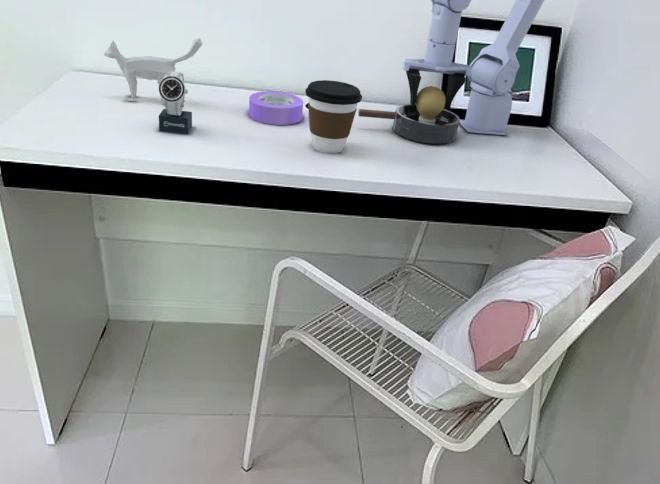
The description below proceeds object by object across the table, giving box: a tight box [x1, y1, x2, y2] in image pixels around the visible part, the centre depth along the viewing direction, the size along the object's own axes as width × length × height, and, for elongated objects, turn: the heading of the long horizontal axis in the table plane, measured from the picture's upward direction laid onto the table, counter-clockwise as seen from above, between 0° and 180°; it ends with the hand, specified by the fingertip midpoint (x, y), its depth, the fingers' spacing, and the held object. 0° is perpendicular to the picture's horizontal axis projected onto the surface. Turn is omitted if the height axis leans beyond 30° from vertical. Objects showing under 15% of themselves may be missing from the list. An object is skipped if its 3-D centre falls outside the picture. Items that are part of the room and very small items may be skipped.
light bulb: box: [416, 85, 446, 124], centre depth 139 cm, size 6×6×10 cm
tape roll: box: [248, 90, 304, 126], centre depth 139 cm, size 12×12×4 cm
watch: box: [158, 71, 193, 135], centre depth 123 cm, size 6×8×11 cm
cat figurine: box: [103, 37, 203, 102], centre depth 135 cm, size 4×20×14 cm, turn 97°
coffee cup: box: [304, 79, 363, 154], centre depth 124 cm, size 11×11×12 cm
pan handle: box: [357, 108, 396, 120], centre depth 138 cm, size 8×2×2 cm, turn 97°
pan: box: [392, 103, 461, 145], centre depth 141 cm, size 14×14×4 cm
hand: (429, 106), depth 138 cm, fingers open, 7 cm apart
